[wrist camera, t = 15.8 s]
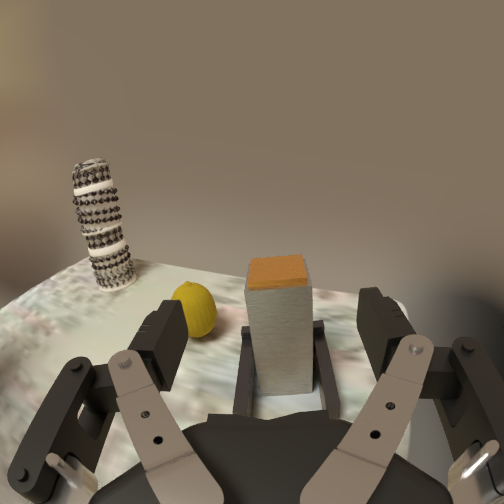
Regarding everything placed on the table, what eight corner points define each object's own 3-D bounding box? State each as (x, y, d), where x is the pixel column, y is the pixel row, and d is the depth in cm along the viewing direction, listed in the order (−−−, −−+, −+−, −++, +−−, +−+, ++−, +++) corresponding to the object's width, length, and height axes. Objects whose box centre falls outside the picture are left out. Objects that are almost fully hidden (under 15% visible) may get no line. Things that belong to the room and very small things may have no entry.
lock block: (312, 392, 25) (311, 278, 21) (260, 396, 26) (243, 284, 21) (307, 359, 30) (304, 252, 25) (262, 362, 30) (248, 257, 26)
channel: (337, 420, 21) (341, 397, 20) (237, 427, 22) (230, 405, 21) (322, 344, 32) (322, 320, 31) (246, 350, 33) (242, 326, 31)
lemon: (230, 332, 36) (219, 277, 33) (198, 356, 32) (182, 298, 29) (202, 319, 40) (190, 268, 37) (171, 339, 36) (155, 286, 33)
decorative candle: (98, 298, 49) (63, 167, 40) (97, 281, 56) (68, 167, 47) (141, 284, 53) (111, 153, 44) (135, 269, 60) (110, 156, 51)
